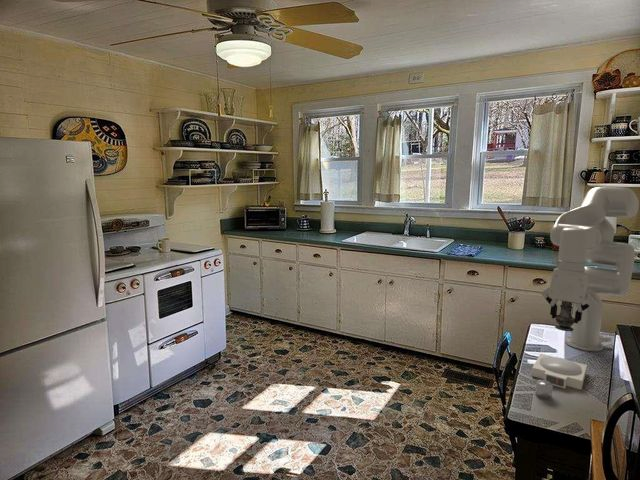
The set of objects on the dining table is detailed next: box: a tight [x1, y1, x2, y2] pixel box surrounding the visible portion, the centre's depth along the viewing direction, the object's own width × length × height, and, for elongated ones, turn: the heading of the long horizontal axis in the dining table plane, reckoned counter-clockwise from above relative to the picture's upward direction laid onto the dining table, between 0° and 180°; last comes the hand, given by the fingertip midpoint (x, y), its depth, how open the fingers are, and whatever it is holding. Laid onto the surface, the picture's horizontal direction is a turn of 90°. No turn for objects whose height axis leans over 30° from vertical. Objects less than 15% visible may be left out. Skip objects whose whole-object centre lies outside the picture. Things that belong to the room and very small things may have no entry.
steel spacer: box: [534, 379, 554, 401], centre depth 121 cm, size 4×4×4 cm
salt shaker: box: [554, 301, 575, 332], centre depth 132 cm, size 6×6×12 cm
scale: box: [531, 353, 588, 390], centre depth 134 cm, size 17×14×4 cm
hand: (565, 319), depth 132 cm, fingers closed on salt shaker, 5 cm apart
